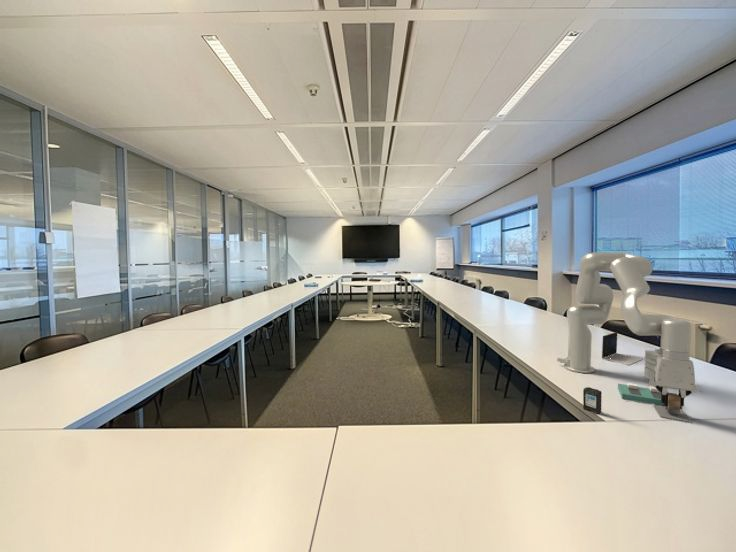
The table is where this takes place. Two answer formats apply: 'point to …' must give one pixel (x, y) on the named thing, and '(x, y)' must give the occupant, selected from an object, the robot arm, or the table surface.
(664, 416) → the mat
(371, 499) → the table surface
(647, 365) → the supplement box
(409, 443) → the table surface
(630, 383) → the switch tab left
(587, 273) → the robot arm
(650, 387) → the switch tab right
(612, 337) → the laptop
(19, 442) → the table surface
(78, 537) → the table surface
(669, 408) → the brown cardboard box
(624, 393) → the switch panel
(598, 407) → the ink cartridge
